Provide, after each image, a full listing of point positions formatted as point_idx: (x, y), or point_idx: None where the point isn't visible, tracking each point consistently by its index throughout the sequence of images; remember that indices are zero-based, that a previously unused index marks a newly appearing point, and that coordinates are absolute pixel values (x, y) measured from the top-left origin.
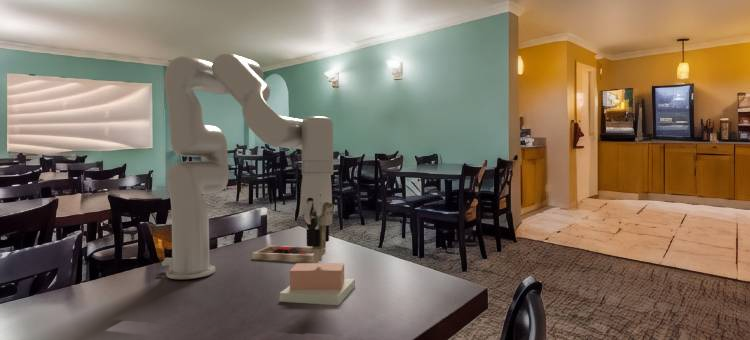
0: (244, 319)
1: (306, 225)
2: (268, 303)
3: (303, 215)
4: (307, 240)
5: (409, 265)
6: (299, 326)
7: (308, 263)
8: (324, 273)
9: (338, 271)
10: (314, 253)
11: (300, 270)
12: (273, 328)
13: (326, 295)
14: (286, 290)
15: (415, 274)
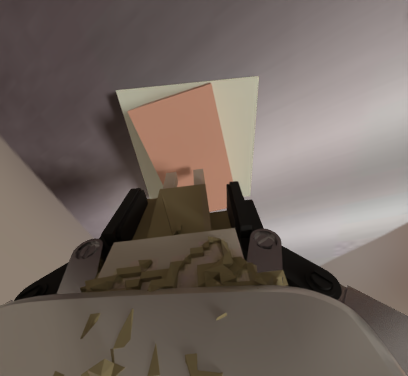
0: (10, 74)
1: (70, 261)
2: (102, 68)
3: (32, 306)
4: (125, 201)
5: (381, 229)
6: (62, 178)
7: (219, 125)
8: None
9: None
10: (163, 187)
11: (143, 140)
12: (30, 149)
13: (147, 186)
14: (136, 97)
15: (319, 243)
